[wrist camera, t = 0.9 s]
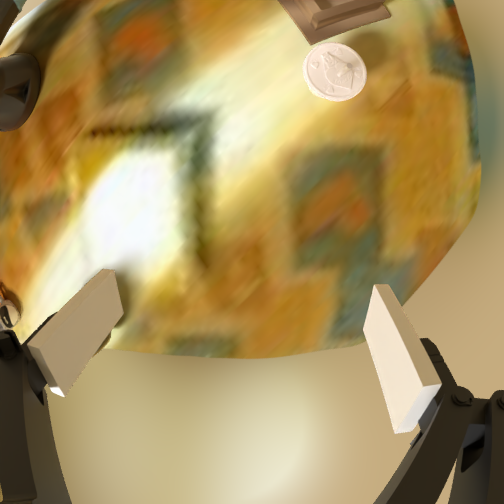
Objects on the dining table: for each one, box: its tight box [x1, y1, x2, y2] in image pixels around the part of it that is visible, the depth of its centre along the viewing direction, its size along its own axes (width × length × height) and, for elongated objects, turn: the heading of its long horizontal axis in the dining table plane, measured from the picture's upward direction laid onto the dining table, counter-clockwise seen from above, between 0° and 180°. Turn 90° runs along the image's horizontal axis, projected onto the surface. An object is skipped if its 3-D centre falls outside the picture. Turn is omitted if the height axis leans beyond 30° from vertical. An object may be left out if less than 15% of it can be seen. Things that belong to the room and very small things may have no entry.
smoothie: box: [303, 42, 367, 101], centre depth 26 cm, size 6×6×14 cm
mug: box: [0, 295, 21, 331], centre depth 51 cm, size 10×7×7 cm, turn 22°
